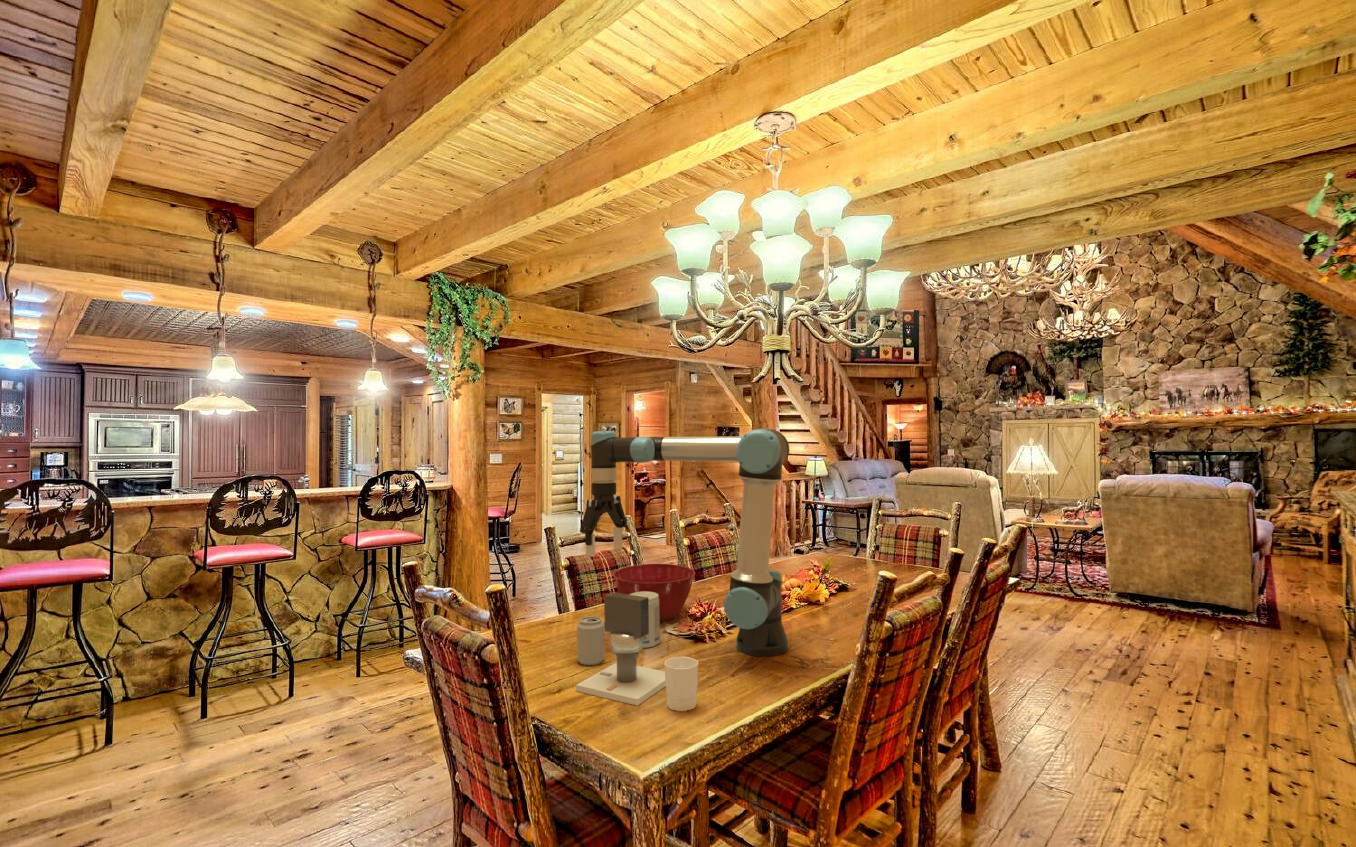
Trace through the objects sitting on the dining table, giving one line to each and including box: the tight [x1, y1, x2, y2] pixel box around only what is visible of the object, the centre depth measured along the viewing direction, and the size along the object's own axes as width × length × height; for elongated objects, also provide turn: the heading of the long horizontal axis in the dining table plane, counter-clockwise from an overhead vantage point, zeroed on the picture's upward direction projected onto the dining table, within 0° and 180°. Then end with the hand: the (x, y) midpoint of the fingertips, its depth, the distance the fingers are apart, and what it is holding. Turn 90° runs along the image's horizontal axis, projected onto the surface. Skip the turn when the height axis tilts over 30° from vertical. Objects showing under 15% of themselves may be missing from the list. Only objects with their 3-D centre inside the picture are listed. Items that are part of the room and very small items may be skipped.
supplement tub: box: [630, 591, 661, 649], centre depth 192 cm, size 10×10×15 cm
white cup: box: [664, 656, 699, 712], centre depth 148 cm, size 8×8×10 cm
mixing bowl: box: [612, 563, 696, 622], centre depth 220 cm, size 28×28×16 cm
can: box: [576, 615, 605, 667], centre depth 176 cm, size 8×8×12 cm
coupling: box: [603, 592, 649, 654], centre depth 160 cm, size 12×8×13 cm, turn 61°
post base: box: [575, 652, 666, 707], centre depth 160 cm, size 18×18×9 cm
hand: (604, 552), depth 191 cm, fingers open, 13 cm apart
